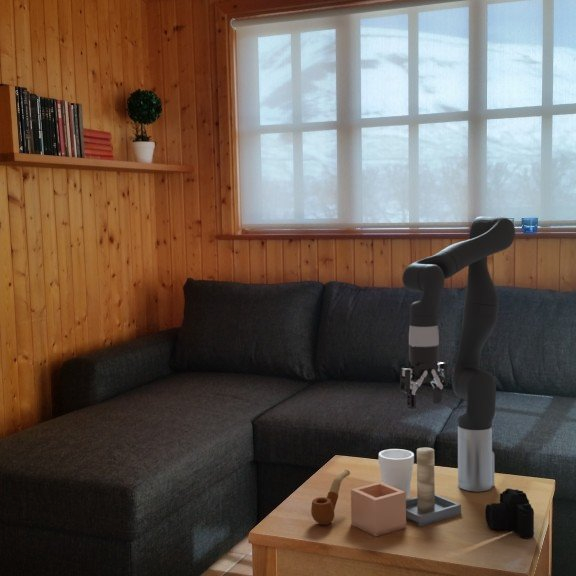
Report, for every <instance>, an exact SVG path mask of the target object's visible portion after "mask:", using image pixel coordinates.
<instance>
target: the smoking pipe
mask: <svg viewBox="0 0 576 576" xmlns="http://www.w3.org/2000/svg"><path fill="white" fill-rule="evenodd" d="M350 474H351V472H350V470H349V469H345V470H344V471H342V472H341V473H339V474H338V475H337V476H336V477H335V478H334V479H333V481H332V484H331V486H330V488H329V492H328V493H327V496H326V497H325V496H320V497H316V498H314V499H312V502H311V510H310V511H311V517H312V519H313V520H314V521H315V523H317V524H319V525H321V526H327V525H330V524H331V523H332V522H333V521H334V518H335V509H336V505H337V501H338V498H339V493H340V492H339V491H340V488H341V484H342V482H343V480H344V479H345V478H347V477H349V476H350Z"/></svg>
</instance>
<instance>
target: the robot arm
mask: <svg viewBox="0 0 576 576" xmlns="http://www.w3.org/2000/svg"><path fill="white" fill-rule="evenodd" d="M468 233H469V235H468V239H467V240H463V241H460V242H456V243H453V244H451V245H448V246H447V247H445V248H443V249H441V250H440V251H438V252H436V253H435V254H434V255H431V256H428V257H425V258H423V259H419V260H417V261H414V262H412V263H410V264H409V265H408V266H407V267H406V268H405V270H404V271H403V274H402V283H403V286H404V287H405V288H406V289H407V290H409V291H412V292H415V293H418V292H419V293H422V296H421V300H417V301H414V302H412V303H411V304H410V305H409V330H408V361H409V362H410V367H409V368H404V367H402V368H400V374H399V391H400V392H403V393H405V394H406V405H407V407H408V409H412V410H414V409H416V408H417V396H416V392H417V391H418V389H419V388H420V387H421V385H422V384H426V383H430V384H431V386H432V387H433V388H432V402H433V403H434V404H436V405H439V404H441V403H442V399H443V397H442V393H443V392H442V389H443V388H444V387H447V386H448V385H449V379H448V378H449V375H448V374H449V373H448V363H447V362H442V361H439V360H440V334H439V333H440V332H439V319H438V318H439V313H438V309H439V306H440V302H441V298H442V295H443V291H444V286H445V280H446V279H449V278H451V277H453V276H455V275H456V274H457V273H459V272H461V271H462V270H463V269H465V268H467V280H466V286H465V287H466V289H465V295H464V296H465V297H464V303H463V312H462V323H461V331H460V337H459V346H458V352H457V355H456V361H455V366H454V370H453V374H452V382H451V385H452V391H453V392H454V394H455V396H456V397H458V398H459V399H463V400H465V401H466V402H467V403H466V410H465V412H463V413H460V414H459V415H458V416H457V486H458V488H460V489H462V490H465V491H469V492H486V491H489V490H491V489H492V488H493V487H494V486H495V452H494V451H493V420H494V418H495V415H496V402H497V401H496V399H497V383H496V381H495V378H494V376H493V374H491V373H490V372H489V371H486V370H483V369H480V363H481V358H482V357H481V355H482V351H483V348H484V346H485V345H486V342H487V341H488V339H489V337H490V336H491V334H492V333H493V331H494V329H495V327H496V324H497V320H498V313H499V312H498V311H499V305H500V300H499V299H500V297H499V295H498V291H497V288H496V286H495V284H494V282H493V280H492V278H491V275H490V271H489V268H488V267H489V265H488V257H489V256H492V255H494V254H497V253H500V252H503V251H505V250H507V249H508V248H511V245H512V244H513V242H514V241H515V238H516V237H515V236H516V228H515V225H514V223H513V222H512V220H511V219H510V218H507V217H503V216H487V215H486V216H483V215H482V216H481V215H480V216H477V217H476V218H474V219H473V221H472V222H471V225H470V228H469V232H468Z"/></svg>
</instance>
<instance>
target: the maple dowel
mask: <svg viewBox="0 0 576 576" xmlns="http://www.w3.org/2000/svg"><path fill="white" fill-rule="evenodd" d="M416 483H417V484H416V489H417V490H416V493H417V496H416V497H417V511H418V512H420V513H424V514H426V513H429V512H433V511H435V494H436V493H435V490H436V489H435V487H436V485H435V449H434V448H431V447H419V448H417V449H416Z"/></svg>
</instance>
